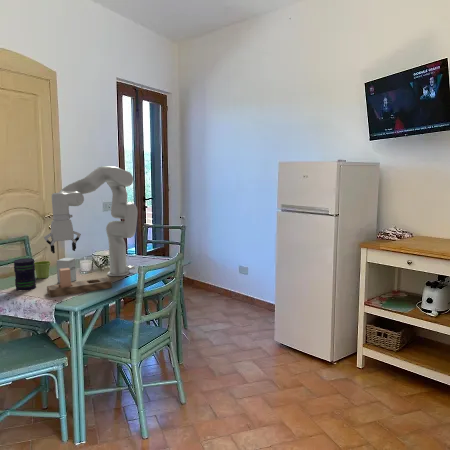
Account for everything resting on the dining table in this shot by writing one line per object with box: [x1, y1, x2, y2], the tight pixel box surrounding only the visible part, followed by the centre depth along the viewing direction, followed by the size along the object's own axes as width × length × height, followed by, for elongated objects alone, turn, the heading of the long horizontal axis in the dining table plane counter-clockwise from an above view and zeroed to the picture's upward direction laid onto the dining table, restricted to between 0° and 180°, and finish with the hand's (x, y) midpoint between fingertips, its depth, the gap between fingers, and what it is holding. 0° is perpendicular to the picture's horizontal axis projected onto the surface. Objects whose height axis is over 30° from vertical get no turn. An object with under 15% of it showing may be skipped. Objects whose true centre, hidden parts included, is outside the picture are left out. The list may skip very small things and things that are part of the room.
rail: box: [46, 277, 113, 298], centre depth 212 cm, size 30×9×4 cm, turn 122°
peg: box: [59, 268, 71, 288], centre depth 208 cm, size 4×4×12 cm
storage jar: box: [13, 257, 37, 291], centre depth 216 cm, size 10×10×15 cm
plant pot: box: [34, 260, 52, 279], centre depth 238 cm, size 9×9×9 cm
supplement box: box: [56, 257, 77, 284], centre depth 229 cm, size 7×7×13 cm
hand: (63, 251), depth 206 cm, fingers open, 9 cm apart
